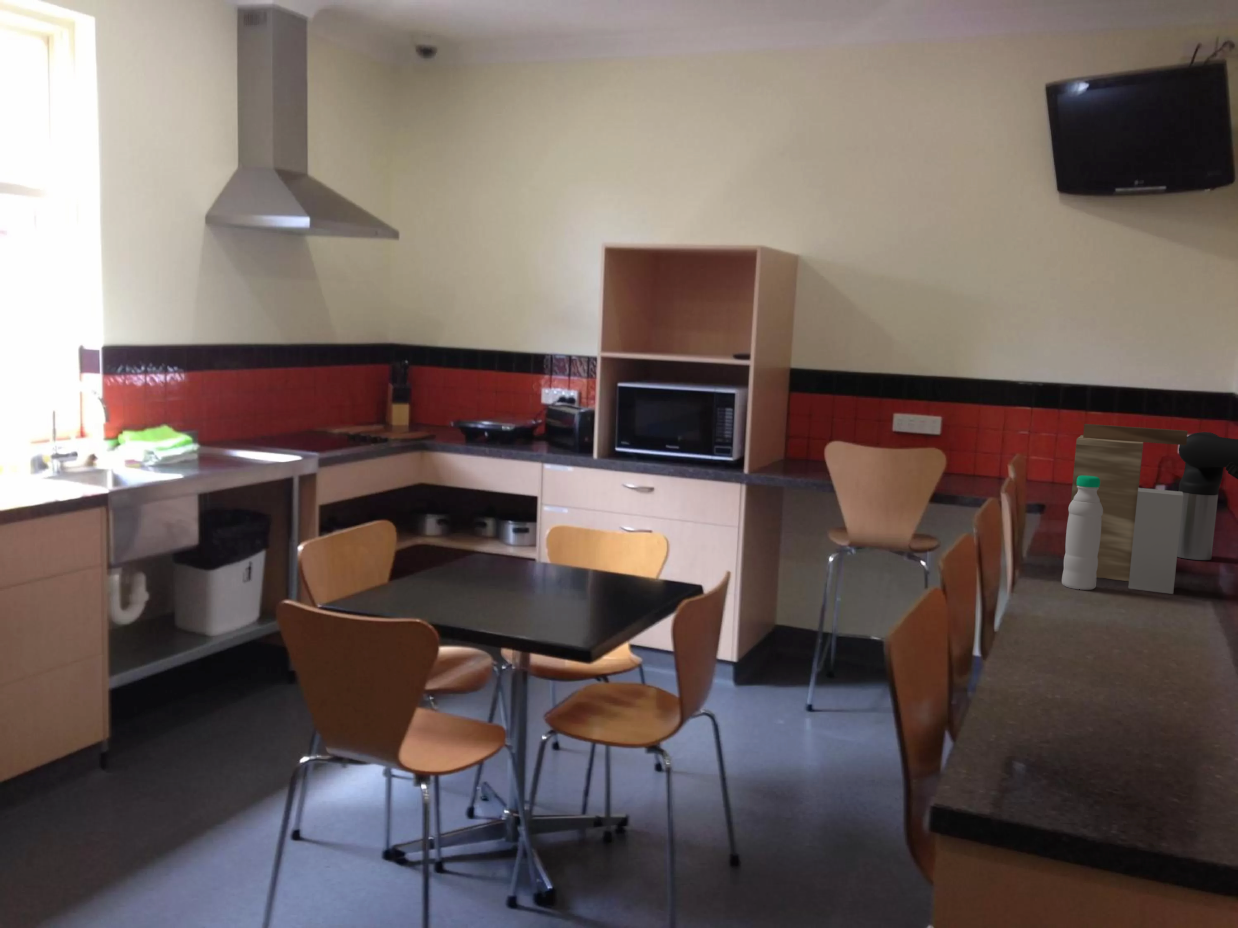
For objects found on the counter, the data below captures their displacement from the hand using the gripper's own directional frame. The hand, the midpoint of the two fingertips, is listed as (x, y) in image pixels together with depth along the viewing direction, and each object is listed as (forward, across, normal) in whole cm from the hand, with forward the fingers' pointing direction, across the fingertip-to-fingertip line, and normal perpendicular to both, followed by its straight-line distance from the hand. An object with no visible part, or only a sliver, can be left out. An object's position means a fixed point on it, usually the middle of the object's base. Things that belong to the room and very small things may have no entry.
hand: (1228, 467), depth 248 cm
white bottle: (+10, -24, -38) cm, 46 cm away
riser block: (-2, -14, -31) cm, 34 cm away
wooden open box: (+8, 0, -36) cm, 37 cm away
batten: (+20, 0, -6) cm, 21 cm away
